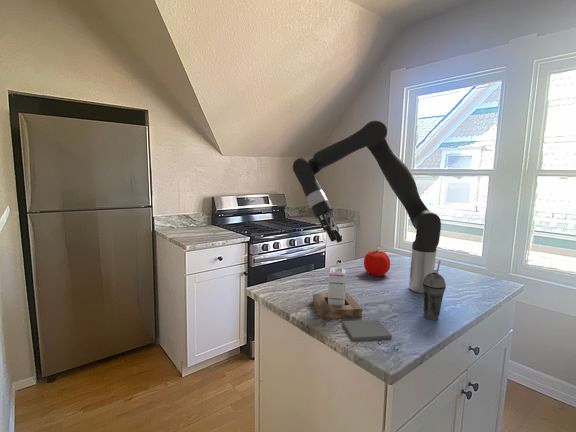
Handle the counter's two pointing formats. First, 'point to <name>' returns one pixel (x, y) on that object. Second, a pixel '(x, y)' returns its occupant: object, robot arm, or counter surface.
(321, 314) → the walnut socket stand
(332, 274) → the syrup box
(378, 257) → the tomato
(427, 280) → the beverage cup
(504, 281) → the counter surface
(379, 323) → the charcoal rubber mat
